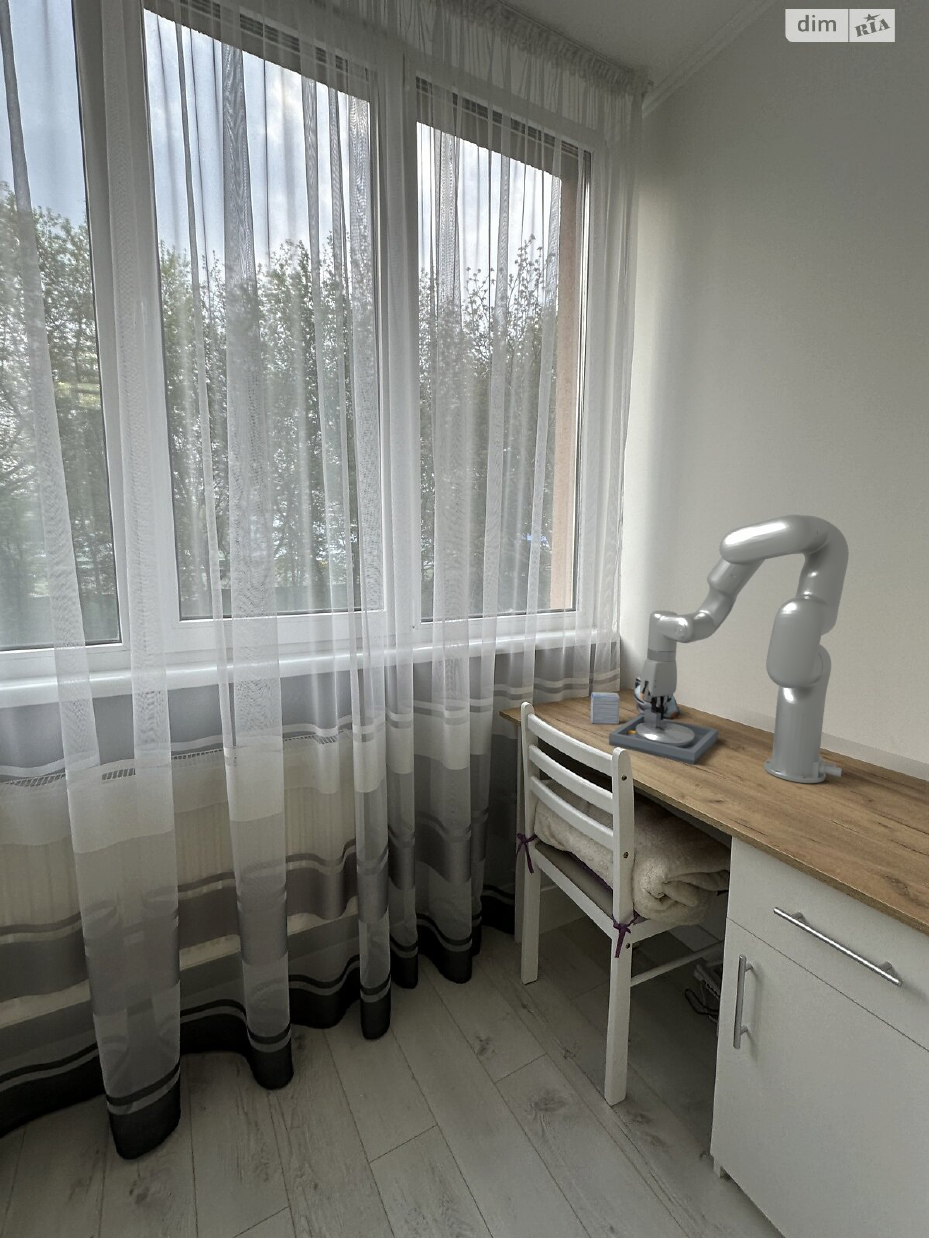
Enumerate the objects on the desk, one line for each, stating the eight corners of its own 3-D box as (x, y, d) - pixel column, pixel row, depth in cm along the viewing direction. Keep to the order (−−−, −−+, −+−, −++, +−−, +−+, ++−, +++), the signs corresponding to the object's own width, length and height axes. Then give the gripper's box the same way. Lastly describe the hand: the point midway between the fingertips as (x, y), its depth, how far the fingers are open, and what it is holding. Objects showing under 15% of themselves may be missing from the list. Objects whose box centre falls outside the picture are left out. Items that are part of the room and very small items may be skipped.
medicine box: (616, 720, 172) (617, 692, 170) (618, 724, 167) (620, 696, 166) (590, 719, 172) (591, 691, 171) (591, 723, 168) (592, 695, 167)
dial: (706, 742, 149) (708, 720, 148) (663, 751, 143) (665, 728, 142) (664, 725, 163) (665, 705, 162) (623, 732, 156) (624, 712, 155)
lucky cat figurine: (688, 719, 172) (679, 684, 166) (651, 734, 173) (641, 699, 167) (665, 693, 186) (656, 659, 180) (631, 706, 186) (621, 674, 180)
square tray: (717, 739, 155) (718, 729, 154) (693, 764, 138) (694, 753, 137) (639, 723, 168) (640, 714, 168) (608, 744, 151) (609, 733, 151)
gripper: (669, 650, 163) (664, 711, 166) (631, 655, 156) (627, 718, 158) (690, 655, 156) (685, 719, 159) (652, 660, 149) (648, 727, 152)
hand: (656, 718), depth 159 cm, fingers closed
